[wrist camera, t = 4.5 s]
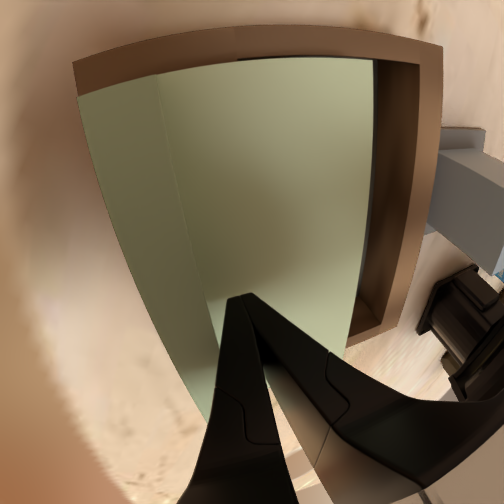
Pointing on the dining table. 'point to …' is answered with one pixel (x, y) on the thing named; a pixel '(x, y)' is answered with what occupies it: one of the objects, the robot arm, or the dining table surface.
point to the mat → (459, 145)
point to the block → (470, 205)
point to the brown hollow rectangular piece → (383, 144)
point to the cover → (238, 195)
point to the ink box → (500, 275)
